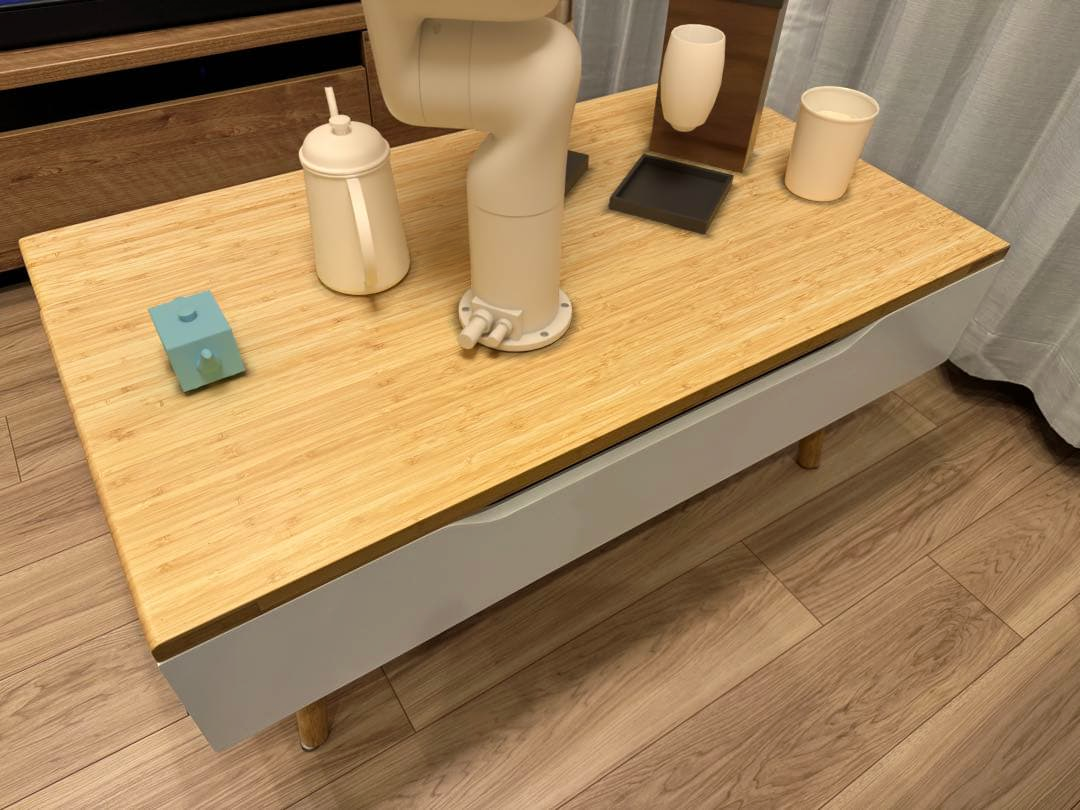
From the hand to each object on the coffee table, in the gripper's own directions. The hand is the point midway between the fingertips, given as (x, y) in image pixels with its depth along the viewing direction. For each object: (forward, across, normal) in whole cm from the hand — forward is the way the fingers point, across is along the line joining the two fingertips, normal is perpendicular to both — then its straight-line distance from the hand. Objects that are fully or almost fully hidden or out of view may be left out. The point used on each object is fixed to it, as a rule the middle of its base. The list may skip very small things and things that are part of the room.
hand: (539, 151), depth 105 cm
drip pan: (+4, +4, -18) cm, 19 cm away
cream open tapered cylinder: (+4, +16, -35) cm, 39 cm away
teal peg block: (+4, -50, +14) cm, 52 cm away
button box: (+4, 0, 0) cm, 4 cm away
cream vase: (+4, +4, -18) cm, 19 cm away
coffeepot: (+4, -28, +10) cm, 30 cm away
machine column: (+4, +18, -18) cm, 26 cm away
